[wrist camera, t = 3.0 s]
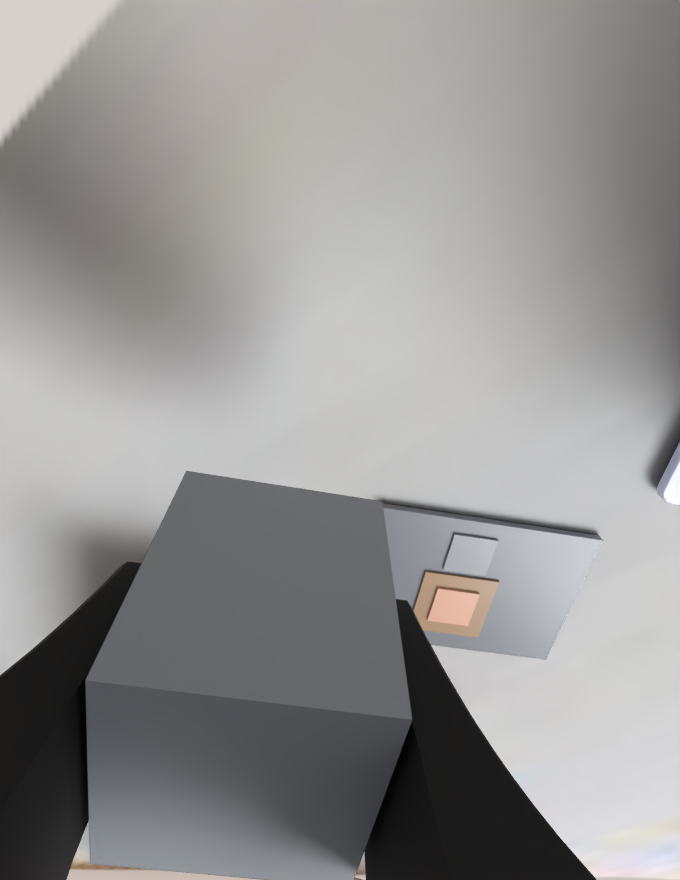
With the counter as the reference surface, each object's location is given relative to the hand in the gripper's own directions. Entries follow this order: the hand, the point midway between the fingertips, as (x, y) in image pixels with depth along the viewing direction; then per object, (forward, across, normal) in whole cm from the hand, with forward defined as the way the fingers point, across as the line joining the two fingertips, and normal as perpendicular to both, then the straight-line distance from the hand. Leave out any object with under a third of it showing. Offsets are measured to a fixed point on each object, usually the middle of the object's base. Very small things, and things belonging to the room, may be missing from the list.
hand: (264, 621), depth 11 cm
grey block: (+2, 0, 0) cm, 2 cm away
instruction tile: (+8, -8, +5) cm, 12 cm away
